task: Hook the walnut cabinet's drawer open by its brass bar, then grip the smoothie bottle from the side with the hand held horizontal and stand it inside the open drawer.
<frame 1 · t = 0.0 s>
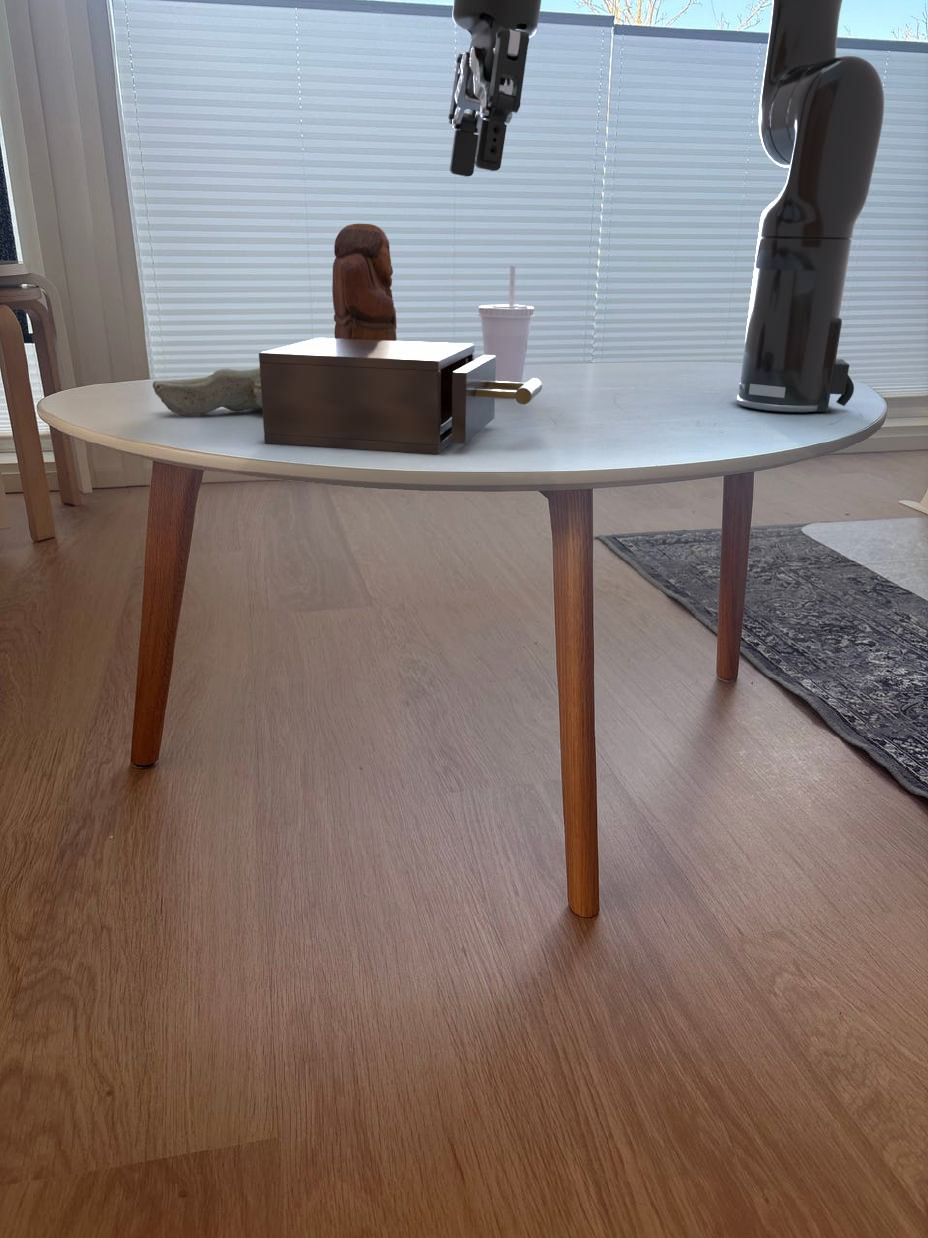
hand: (473, 172, 85), 22 cm above the table, tool pointing down, fingers open, 8 cm apart
cabinet: (374, 433, 85), on the table
drawer: (429, 394, 83), point 4 cm above the table, slide at 1.0 cm
smoothie: (503, 395, 108), on the table
sculpture: (233, 414, 94), on the table
wooden figurine: (367, 400, 104), on the table
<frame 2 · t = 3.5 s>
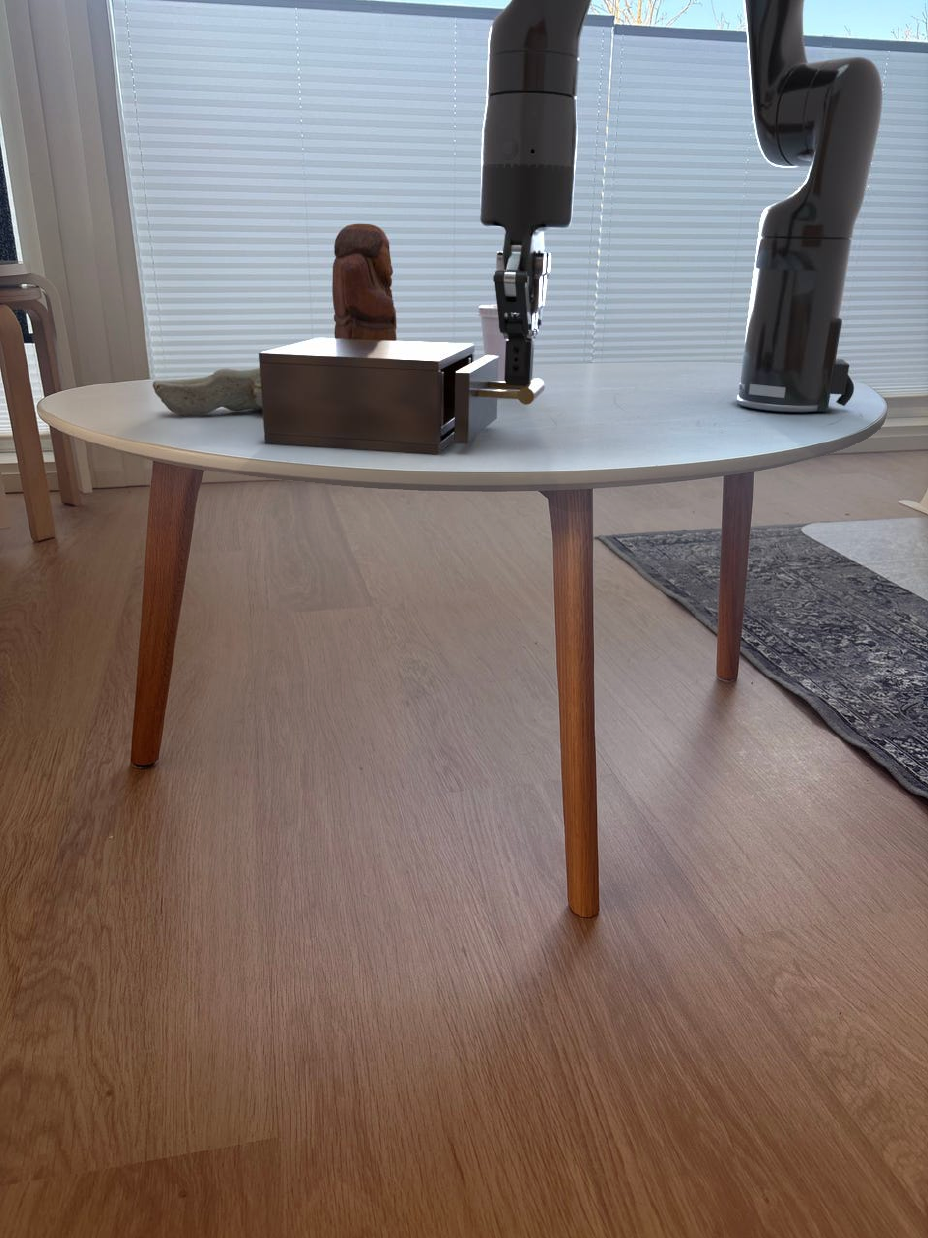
hand: (518, 383, 81), 5 cm above the table, tool pointing down, fingers closed
drawer: (431, 394, 83), point 4 cm above the table, slide at 1.2 cm, touching gripper
everything else where it was.
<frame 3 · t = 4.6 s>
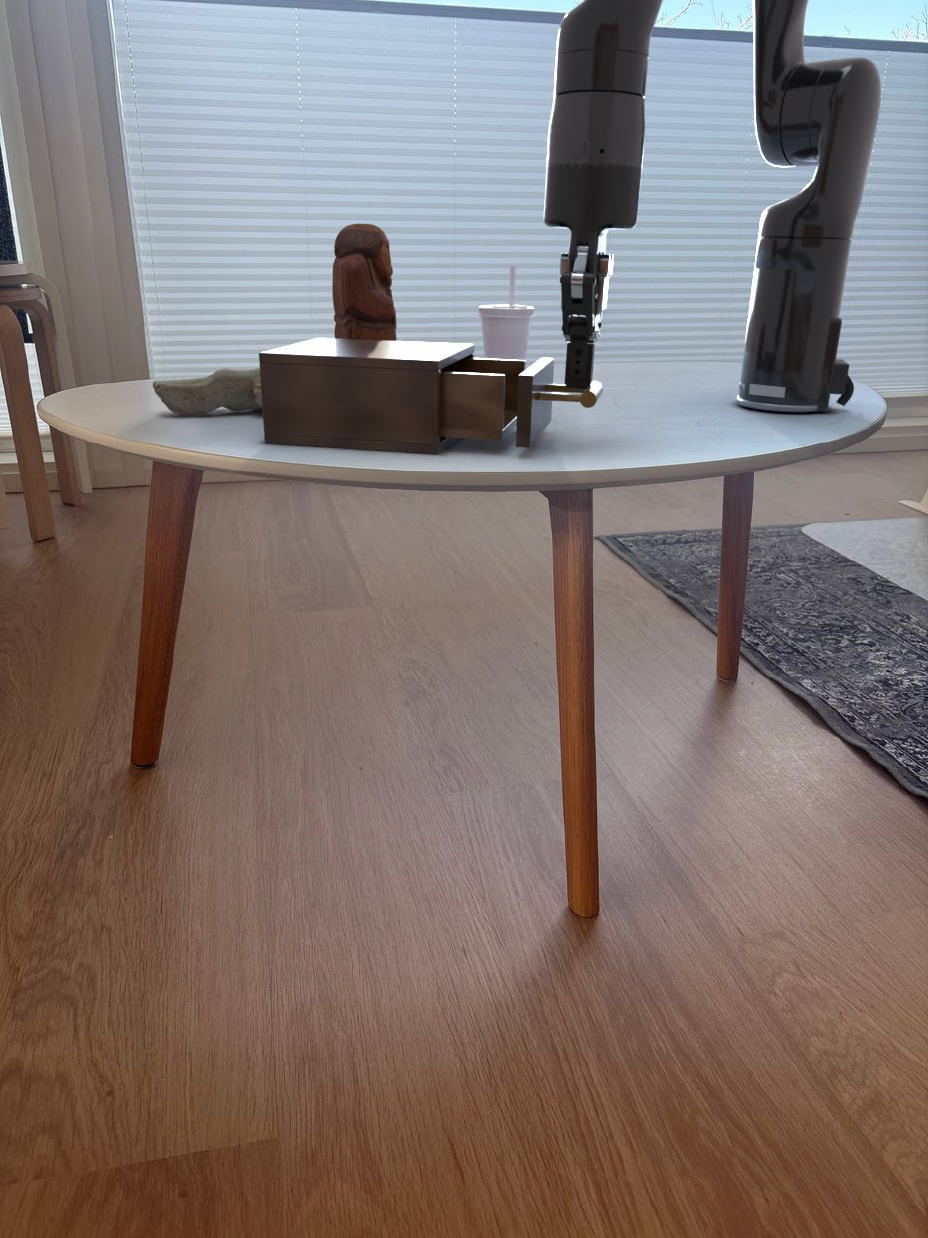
hand: (578, 387, 80), 5 cm above the table, tool pointing down, fingers closed
drawer: (488, 397, 82), point 4 cm above the table, slide at 6.5 cm, touching gripper
everything else where it was.
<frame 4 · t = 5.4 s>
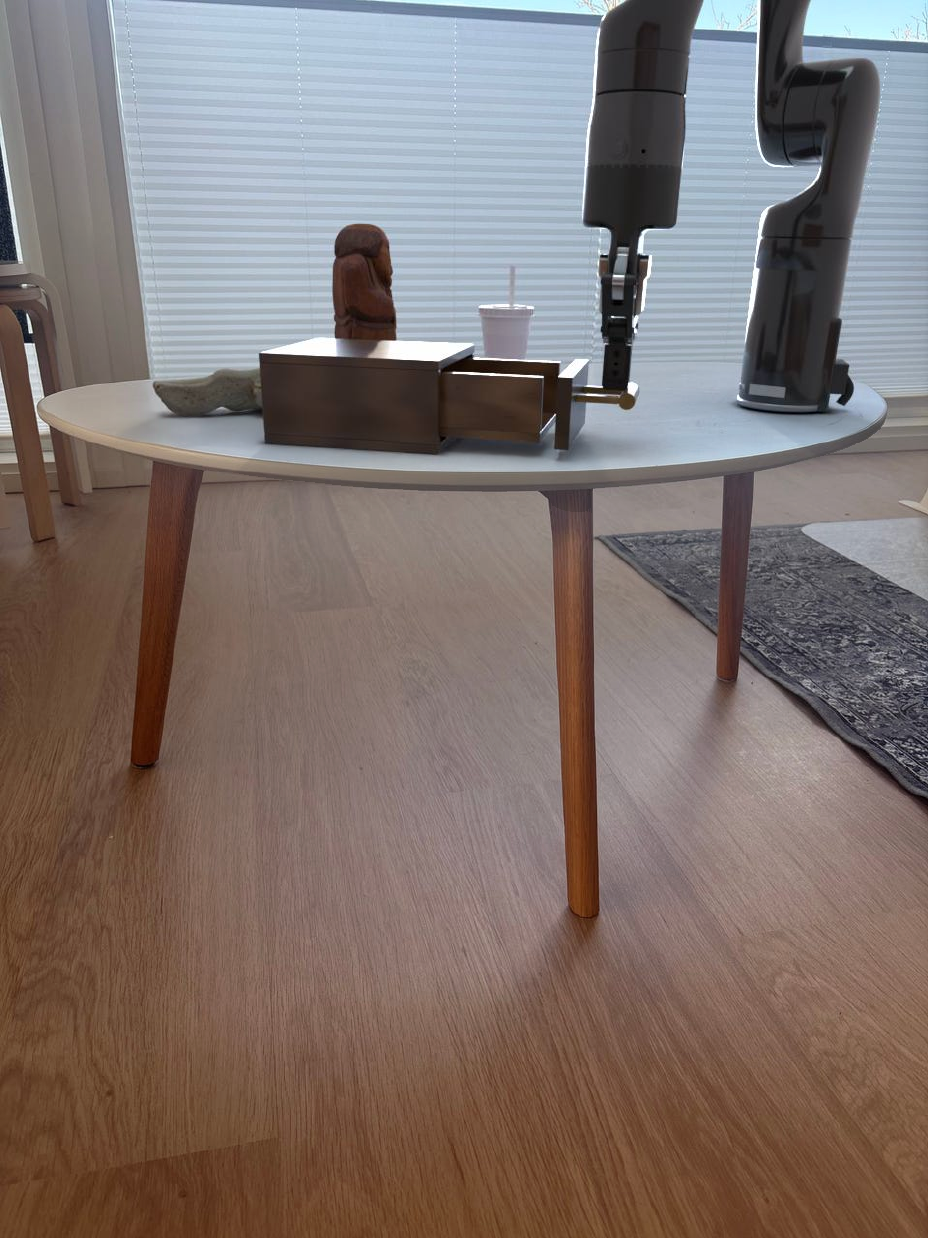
hand: (615, 388, 79), 5 cm above the table, tool pointing down, fingers closed
drawer: (524, 399, 81), point 4 cm above the table, slide at 9.6 cm, touching gripper
everything else where it was.
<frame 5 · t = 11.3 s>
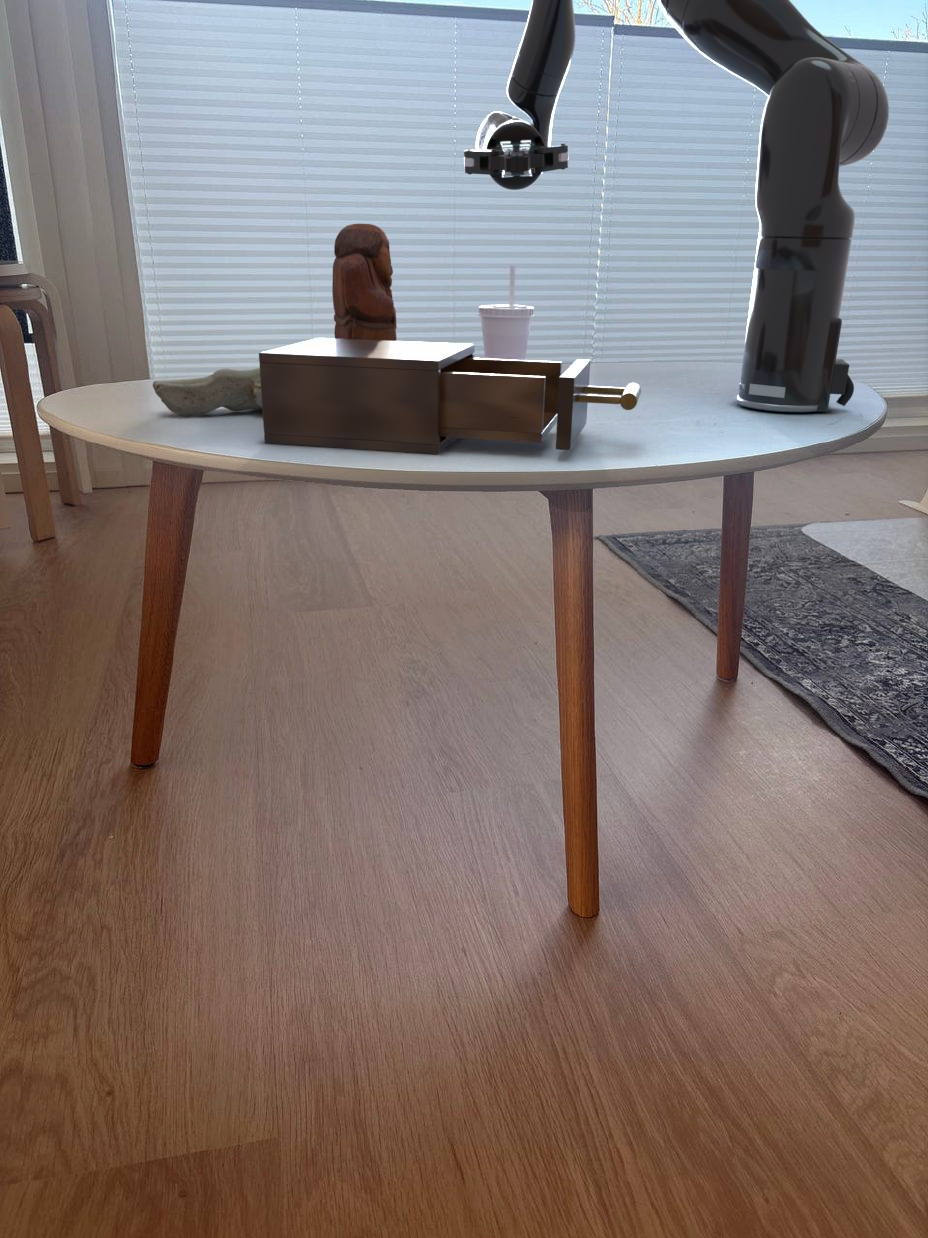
hand: (517, 164, 103), 24 cm above the table, tool horizontal, fingers closed
drawer: (525, 399, 81), point 4 cm above the table, slide at 9.8 cm
everything else where it was.
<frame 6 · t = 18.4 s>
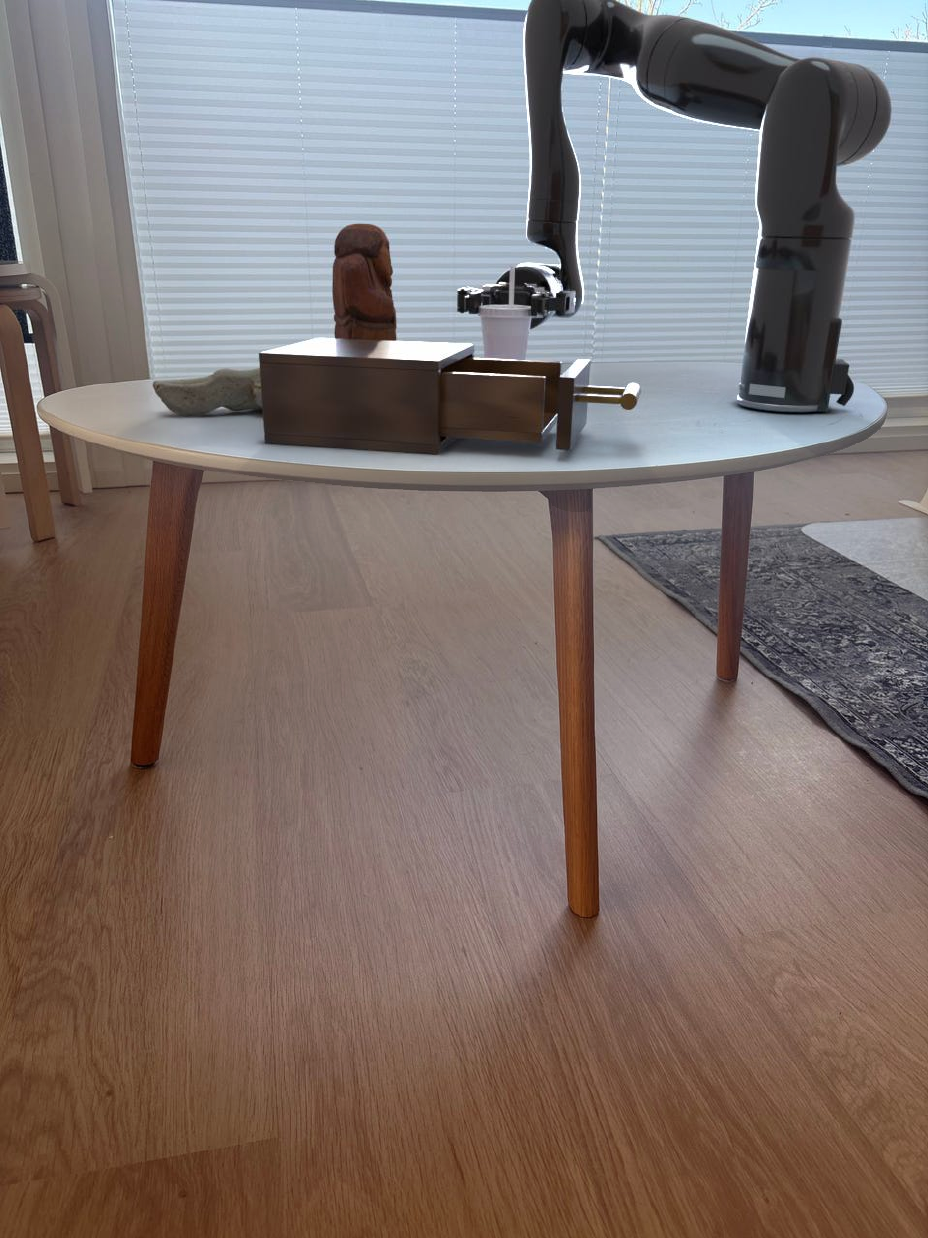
hand: (502, 304, 102), 10 cm above the table, tool horizontal, fingers closed on smoothie, 6 cm apart
smoothie: (503, 395, 108), on the table, touching gripper
everything else where it was.
when the fingers open (12 cm above the table, at t = 27.5 s): smoothie stays where it is, resting on drawer.
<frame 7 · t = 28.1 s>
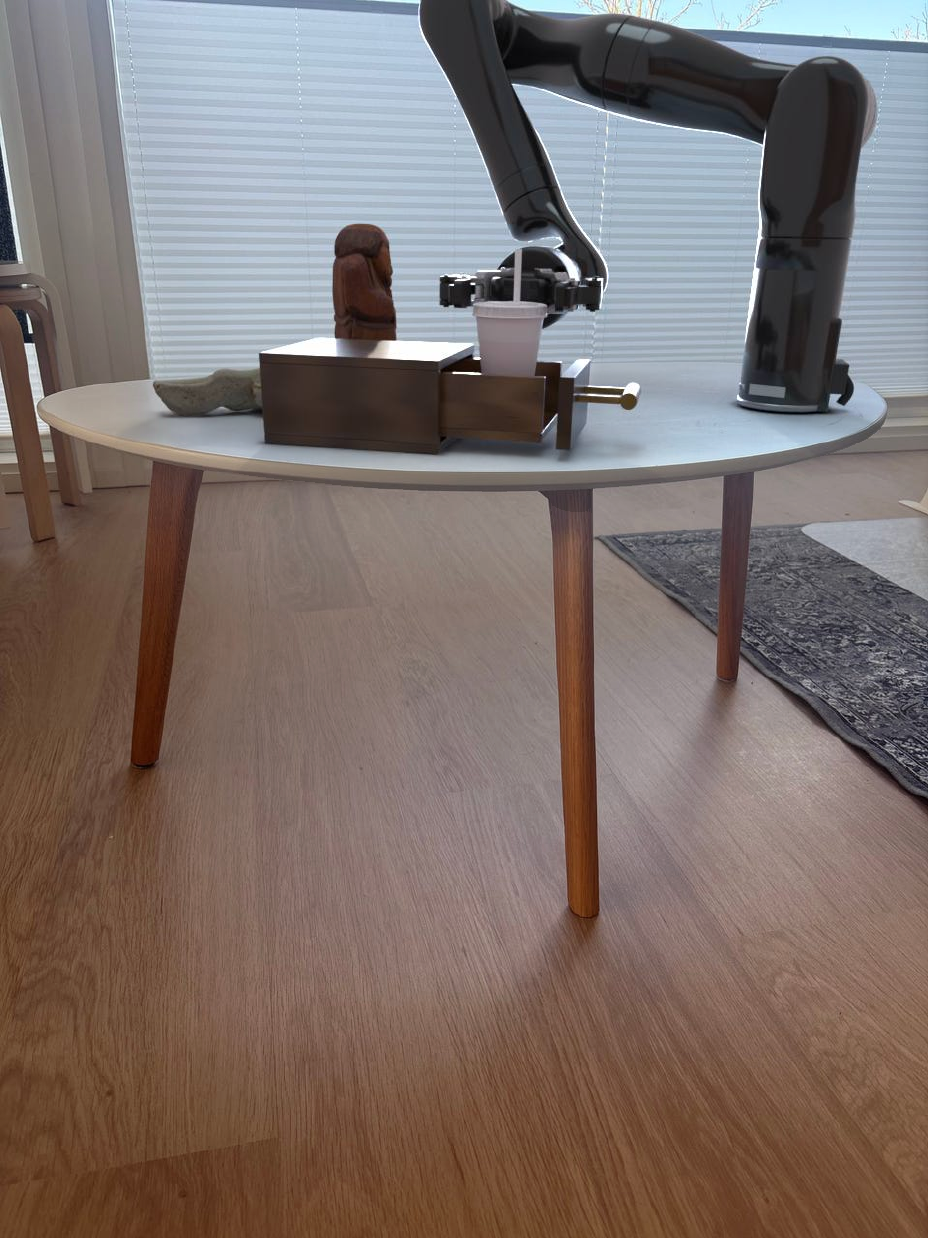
hand: (508, 295, 77), 12 cm above the table, tool horizontal, fingers open, 8 cm apart
drawer: (525, 399, 81), point 4 cm above the table, slide at 9.8 cm, touching smoothie
smoothie: (506, 421, 82), point 2 cm above the table, touching drawer
everything else where it was.
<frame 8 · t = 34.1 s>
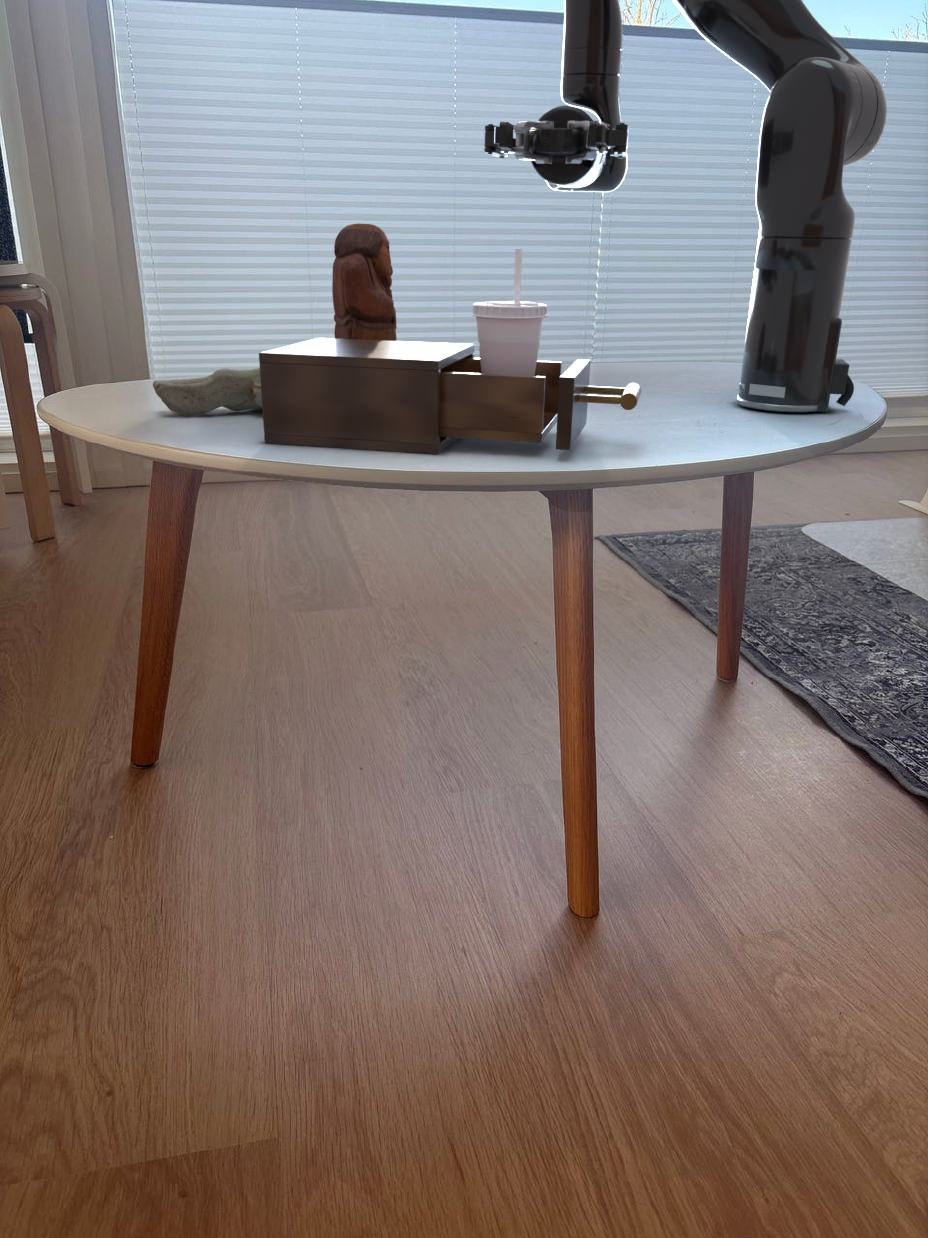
hand: (547, 133, 88), 26 cm above the table, tool horizontal, fingers open, 8 cm apart
nothing on the table moved.
at the end: drawer slide at 9.8 cm; smoothie inside the target area in the drawer (0.2 cm from its centre), point 1.8 cm above the cabinet's base; smoothie tilted 0° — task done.
